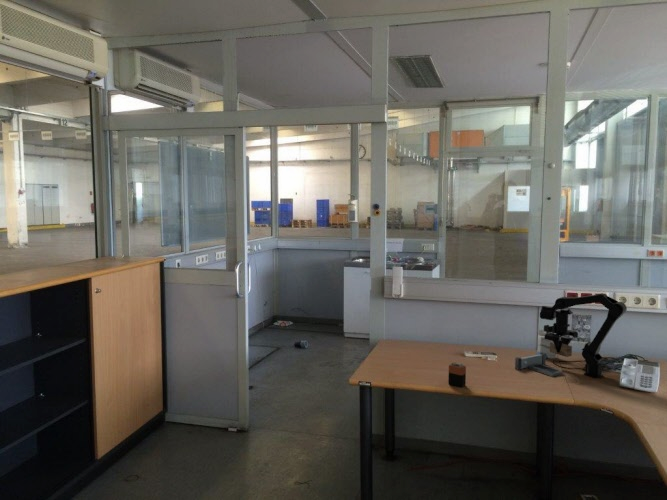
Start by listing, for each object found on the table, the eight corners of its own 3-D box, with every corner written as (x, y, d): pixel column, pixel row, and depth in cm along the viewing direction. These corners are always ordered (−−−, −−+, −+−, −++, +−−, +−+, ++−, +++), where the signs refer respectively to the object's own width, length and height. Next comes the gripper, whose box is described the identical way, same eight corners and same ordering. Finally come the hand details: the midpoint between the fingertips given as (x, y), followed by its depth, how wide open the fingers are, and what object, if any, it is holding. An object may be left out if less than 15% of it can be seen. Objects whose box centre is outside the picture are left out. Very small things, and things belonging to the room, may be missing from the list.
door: (539, 363, 265) (539, 354, 265) (543, 364, 263) (544, 355, 262) (518, 367, 257) (519, 358, 257) (522, 369, 255) (523, 359, 255)
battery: (452, 382, 236) (452, 361, 236) (465, 385, 232) (466, 364, 231) (447, 384, 233) (448, 363, 232) (461, 387, 229) (462, 366, 228)
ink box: (539, 358, 276) (540, 331, 275) (537, 355, 281) (538, 329, 280) (555, 358, 275) (557, 332, 274) (552, 356, 280) (553, 329, 279)
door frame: (542, 363, 266) (542, 352, 266) (545, 364, 265) (545, 353, 264) (515, 369, 257) (515, 357, 256) (518, 370, 255) (518, 358, 254)
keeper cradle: (563, 374, 249) (563, 371, 248) (552, 376, 245) (552, 373, 245) (538, 366, 261) (538, 363, 261) (527, 368, 257) (528, 365, 257)
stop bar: (571, 356, 254) (571, 346, 254) (566, 356, 252) (567, 347, 252) (554, 351, 263) (554, 341, 262) (549, 351, 261) (550, 342, 261)
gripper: (560, 317, 268) (558, 345, 269) (536, 320, 259) (534, 350, 260) (579, 321, 258) (577, 351, 259) (554, 324, 249) (553, 355, 250)
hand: (560, 351), depth 257 cm, fingers closed on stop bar, 4 cm apart
